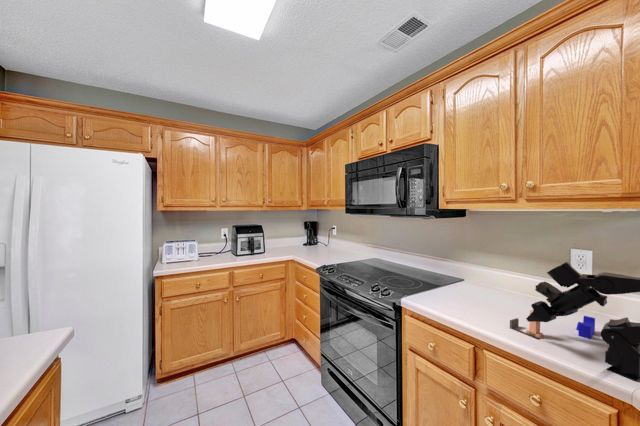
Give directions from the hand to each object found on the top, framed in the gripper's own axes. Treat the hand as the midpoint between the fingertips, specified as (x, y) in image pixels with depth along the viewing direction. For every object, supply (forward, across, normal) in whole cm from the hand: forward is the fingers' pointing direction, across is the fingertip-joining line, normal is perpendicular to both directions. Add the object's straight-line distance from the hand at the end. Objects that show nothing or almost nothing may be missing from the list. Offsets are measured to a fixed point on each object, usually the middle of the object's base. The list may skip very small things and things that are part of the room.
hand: (534, 317), depth 96 cm
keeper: (+4, 0, +5) cm, 6 cm away
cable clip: (+1, -21, +10) cm, 23 cm away
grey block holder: (+7, 0, +4) cm, 8 cm away
